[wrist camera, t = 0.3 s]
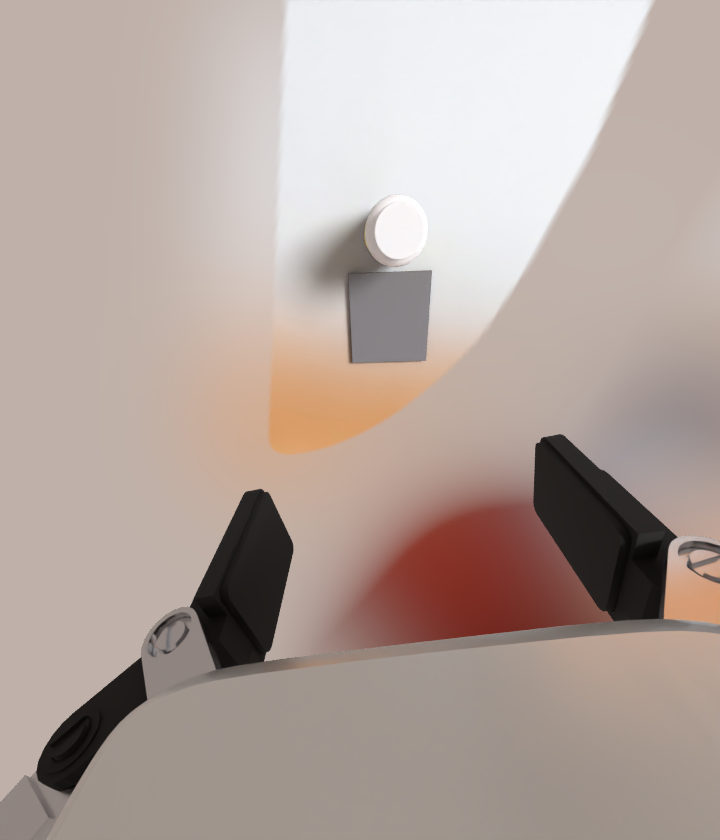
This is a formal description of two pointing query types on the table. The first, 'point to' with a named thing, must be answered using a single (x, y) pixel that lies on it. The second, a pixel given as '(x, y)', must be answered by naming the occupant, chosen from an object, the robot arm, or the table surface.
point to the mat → (389, 315)
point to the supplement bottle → (396, 230)
